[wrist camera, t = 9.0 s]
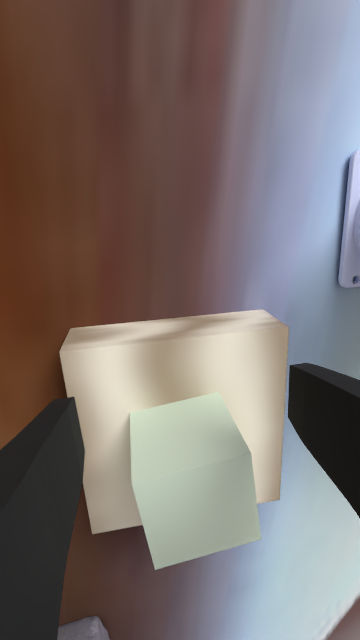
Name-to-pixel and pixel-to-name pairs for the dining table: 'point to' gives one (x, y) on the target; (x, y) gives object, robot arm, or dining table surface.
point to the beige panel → (173, 394)
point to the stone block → (83, 630)
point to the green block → (192, 479)
